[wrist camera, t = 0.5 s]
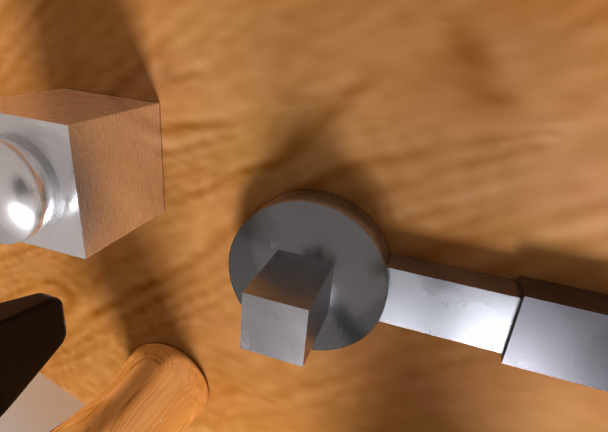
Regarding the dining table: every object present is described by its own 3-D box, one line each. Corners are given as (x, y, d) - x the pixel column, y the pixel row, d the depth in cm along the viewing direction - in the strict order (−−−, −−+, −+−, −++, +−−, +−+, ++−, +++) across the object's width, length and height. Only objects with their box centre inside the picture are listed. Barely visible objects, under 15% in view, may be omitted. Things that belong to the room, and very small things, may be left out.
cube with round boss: (164, 211, 25) (58, 275, 19) (77, 191, 27) (-50, 244, 20) (159, 103, 23) (35, 133, 16) (63, 88, 24) (-86, 109, 18)
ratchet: (243, 306, 26) (187, 376, 21) (248, 176, 23) (183, 220, 17) (597, 403, 21) (642, 526, 16) (667, 257, 18) (752, 351, 13)
